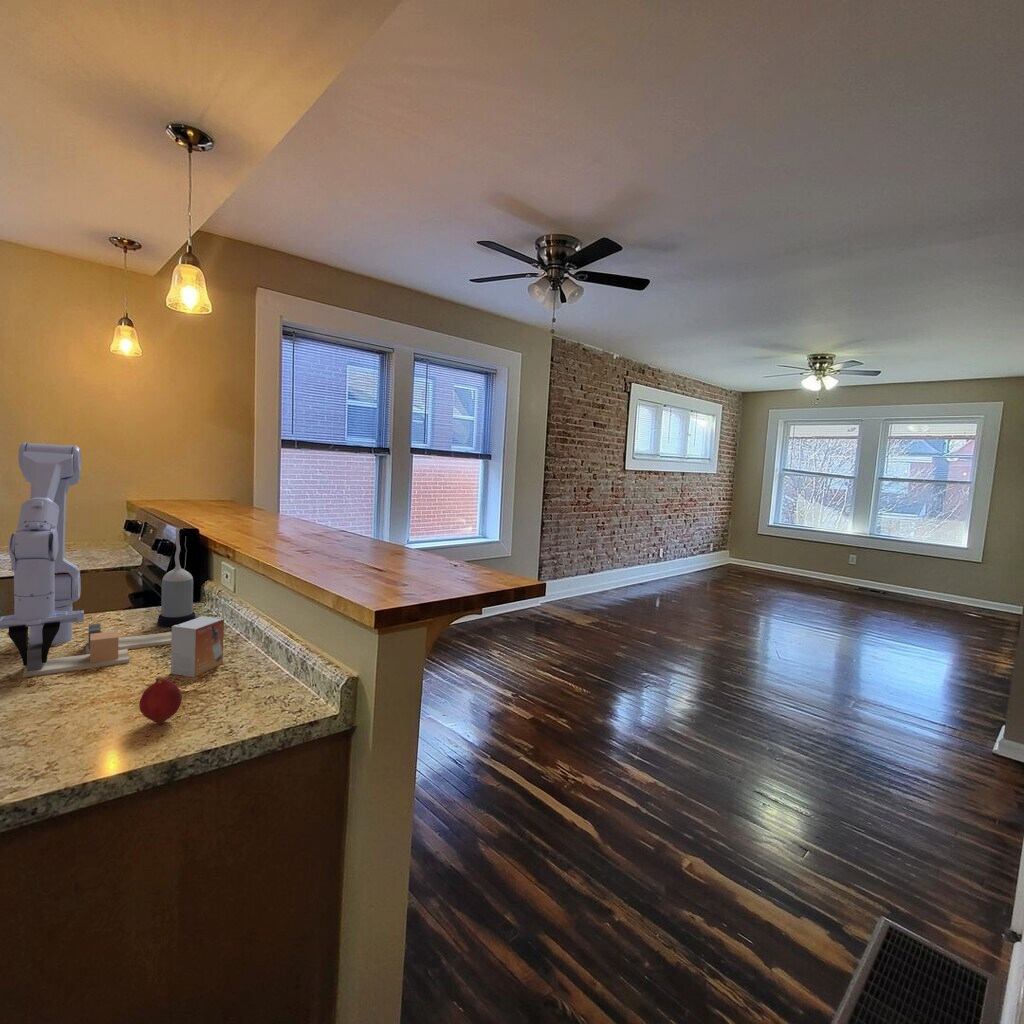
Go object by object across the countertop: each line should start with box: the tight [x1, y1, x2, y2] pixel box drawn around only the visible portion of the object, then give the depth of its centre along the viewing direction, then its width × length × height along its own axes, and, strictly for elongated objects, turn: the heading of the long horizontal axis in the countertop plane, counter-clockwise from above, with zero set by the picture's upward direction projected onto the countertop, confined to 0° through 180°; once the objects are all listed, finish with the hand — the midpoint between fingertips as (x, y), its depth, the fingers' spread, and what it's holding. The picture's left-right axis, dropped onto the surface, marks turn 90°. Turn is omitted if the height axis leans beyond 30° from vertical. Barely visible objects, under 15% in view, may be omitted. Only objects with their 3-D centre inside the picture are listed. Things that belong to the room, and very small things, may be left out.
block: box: [90, 630, 120, 662], centre depth 109 cm, size 4×4×4 cm
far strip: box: [84, 622, 172, 655], centre depth 119 cm, size 6×16×5 cm, turn 128°
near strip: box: [22, 641, 130, 678], centre depth 106 cm, size 6×16×5 cm, turn 128°
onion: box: [138, 676, 183, 725], centre depth 88 cm, size 6×6×8 cm
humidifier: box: [156, 528, 197, 629], centre depth 134 cm, size 8×8×25 cm
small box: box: [170, 615, 225, 678], centre depth 108 cm, size 8×6×10 cm
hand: (35, 662), depth 102 cm, fingers closed on near strip, 2 cm apart
